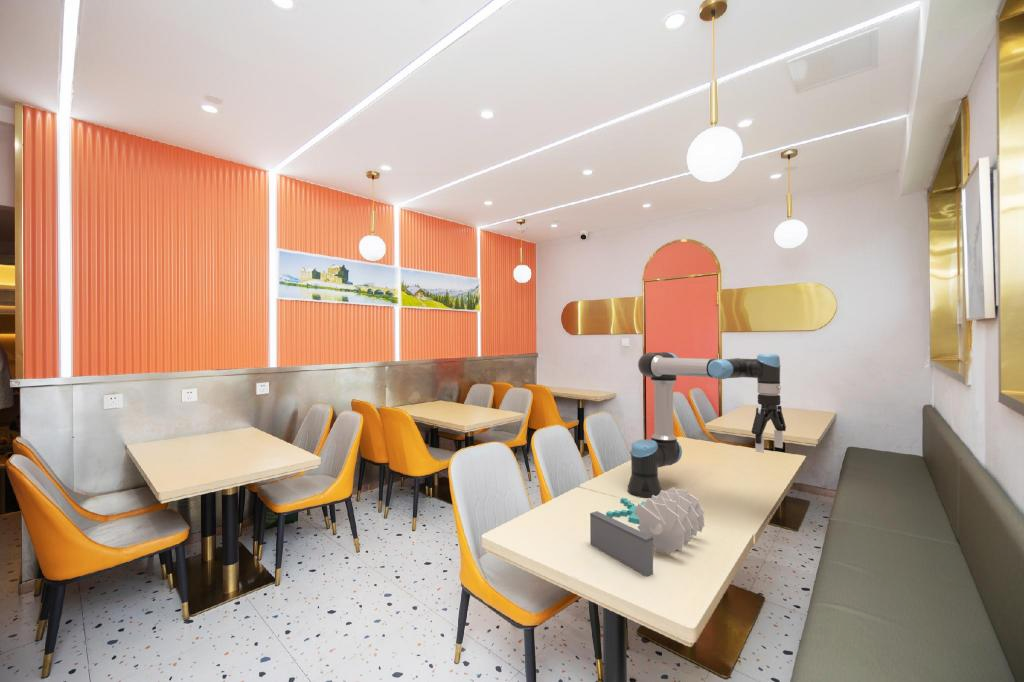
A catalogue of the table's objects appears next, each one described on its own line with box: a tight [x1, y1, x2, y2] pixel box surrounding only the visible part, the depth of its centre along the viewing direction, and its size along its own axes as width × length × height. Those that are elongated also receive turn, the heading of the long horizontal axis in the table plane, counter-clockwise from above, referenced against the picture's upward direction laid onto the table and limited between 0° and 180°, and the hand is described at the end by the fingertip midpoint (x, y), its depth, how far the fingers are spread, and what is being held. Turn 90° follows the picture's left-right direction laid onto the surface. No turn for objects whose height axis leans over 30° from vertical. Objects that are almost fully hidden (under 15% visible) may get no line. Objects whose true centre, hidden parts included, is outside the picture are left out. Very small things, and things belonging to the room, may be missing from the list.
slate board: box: [589, 511, 654, 577], centre depth 138 cm, size 24×3×11 cm, turn 32°
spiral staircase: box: [634, 486, 706, 556], centre depth 148 cm, size 18×18×25 cm
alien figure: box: [605, 497, 646, 525], centre depth 174 cm, size 20×2×20 cm
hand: (769, 449), depth 165 cm, fingers open, 13 cm apart
